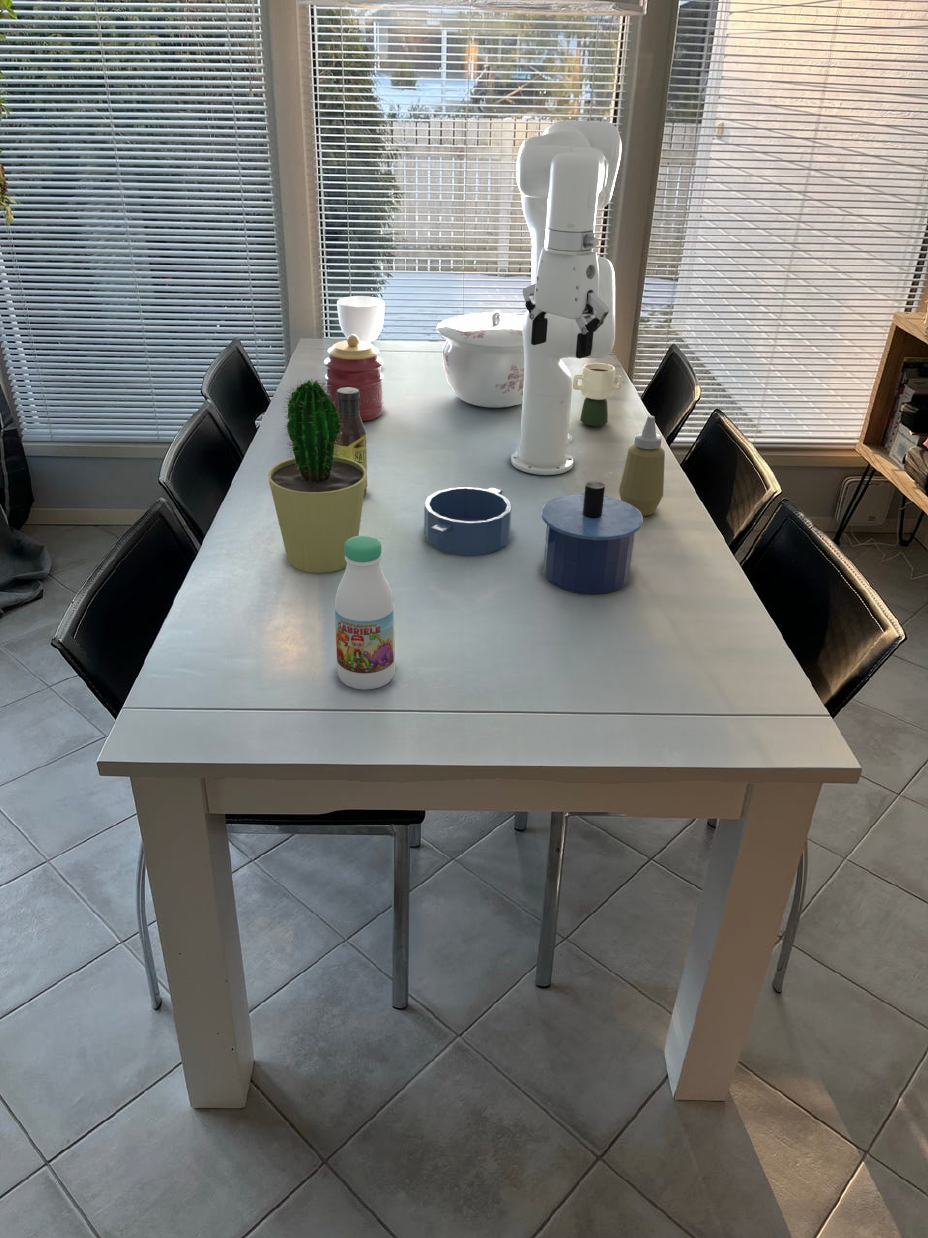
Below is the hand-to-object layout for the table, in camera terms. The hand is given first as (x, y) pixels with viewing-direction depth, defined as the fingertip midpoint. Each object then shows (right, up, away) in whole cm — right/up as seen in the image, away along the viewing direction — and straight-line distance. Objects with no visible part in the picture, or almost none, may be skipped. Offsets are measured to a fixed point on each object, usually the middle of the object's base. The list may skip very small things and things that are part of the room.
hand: (560, 350), depth 159 cm
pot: (+4, -37, -2) cm, 37 cm away
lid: (+4, -29, -8) cm, 30 cm away
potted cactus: (-39, -34, 0) cm, 52 cm away
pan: (-15, -30, +8) cm, 35 cm away
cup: (-42, +20, +89) cm, 100 cm away
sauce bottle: (-37, -21, +22) cm, 48 cm away
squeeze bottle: (+16, -24, +19) cm, 35 cm away
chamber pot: (-9, +8, +71) cm, 72 cm away
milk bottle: (-29, -52, -29) cm, 66 cm away
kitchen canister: (-41, +2, +60) cm, 73 cm away
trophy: (+13, -1, +59) cm, 60 cm away
